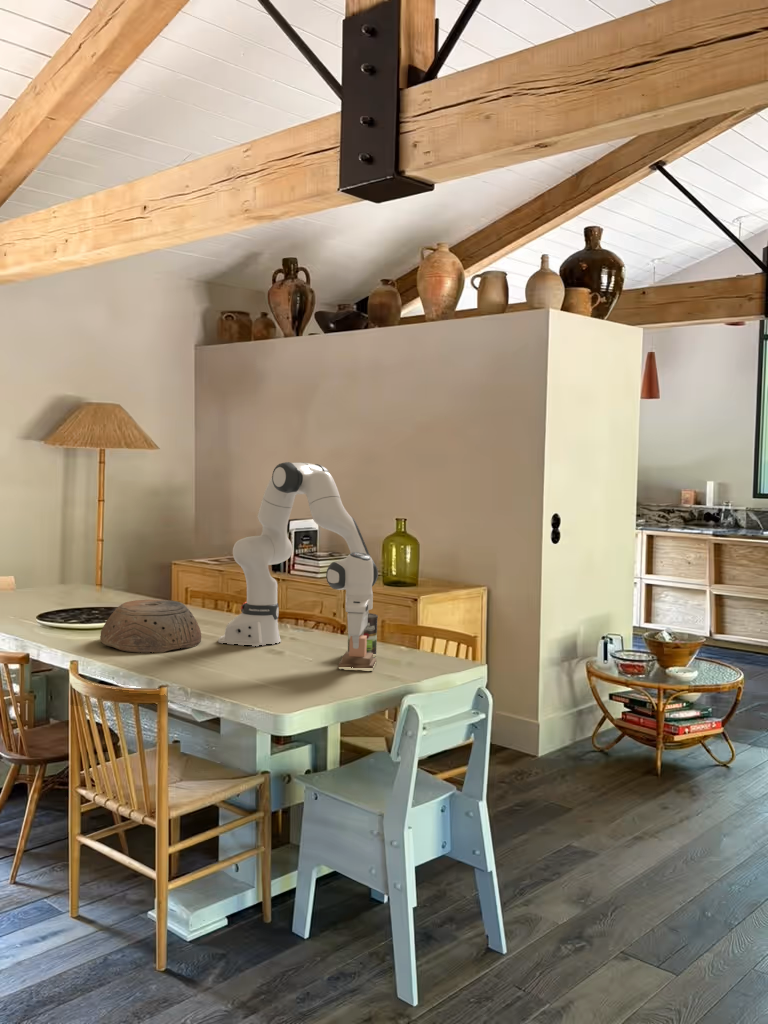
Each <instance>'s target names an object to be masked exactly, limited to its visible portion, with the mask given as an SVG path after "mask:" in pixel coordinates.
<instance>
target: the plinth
mask: <svg viewBox="0 0 768 1024" xmlns="http://www.w3.org/2000/svg"><path fill="white" fill-rule="evenodd" d="M375 662H376V663H377V658H376V657H373V653H367V652H366V655H365V657H356V656H349V652H348V651H345V653H343V655H342V657H341V660H340V661H338V664H337V665H338V667H351V668H352V667H353V668H373V666H374V664H375ZM338 667H337V668H338Z"/></svg>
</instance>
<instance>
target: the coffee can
mask: <svg viewBox="0 0 768 1024" xmlns="http://www.w3.org/2000/svg"><path fill="white" fill-rule="evenodd" d="M378 618H379V616H378V614H375V613H370V612H369V613H368V624H367V626H366V628H365V629H364V634H363V635H364V636H367V651H366V652H367V653H373V654H376V655H377V642H378V641H377V640H378V637H377V636H378ZM350 637H351V636H349V633H348V632H347V647H346V648H347V651H348V652H349V641H350Z"/></svg>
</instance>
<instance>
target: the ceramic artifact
mask: <svg viewBox="0 0 768 1024" xmlns="http://www.w3.org/2000/svg"><path fill="white" fill-rule="evenodd" d="M99 639H100V642H101V643H102V644H103V645H105V646H107V647H110V648H115V649H117V650H119V651H123V652H127V653H129V652H130V653H139V654H140V652H141V654H142V653H143V654H149V653H150V652H152V653H151V654H154V653H153V652H162V653H165V652H169V651H172V650H180V648H181V649H189V648H188V647H191V648H193V646H194V647H196V646H198V645H199V644H200V643H201V641H202V631H201V629H200V625H199V624H198V622H197V620H196V618H195V616H194V614H193V613H192V612H191V610H190V609H189V607H187V605H186V604H184V603H182V602H180V601H176V600H167V599H154V598H153V599H135V600H129V601H125V602H123V603H121V604H120V605H119V606H118V607H116V608H115V610H113V612H112V613H111V614H110V615H109V617H108V618H107V620H106V621H105V623H104V625H103V626H102V628H101V631H100V636H99ZM195 645H196V646H195Z"/></svg>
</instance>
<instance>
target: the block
mask: <svg viewBox="0 0 768 1024" xmlns="http://www.w3.org/2000/svg"><path fill="white" fill-rule="evenodd" d="M366 651H367V636H364V635H360V636H359V647H358V649H355V648H353V640H352V636H351V637H350V641H349V656H356V657H365V655H366Z"/></svg>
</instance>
